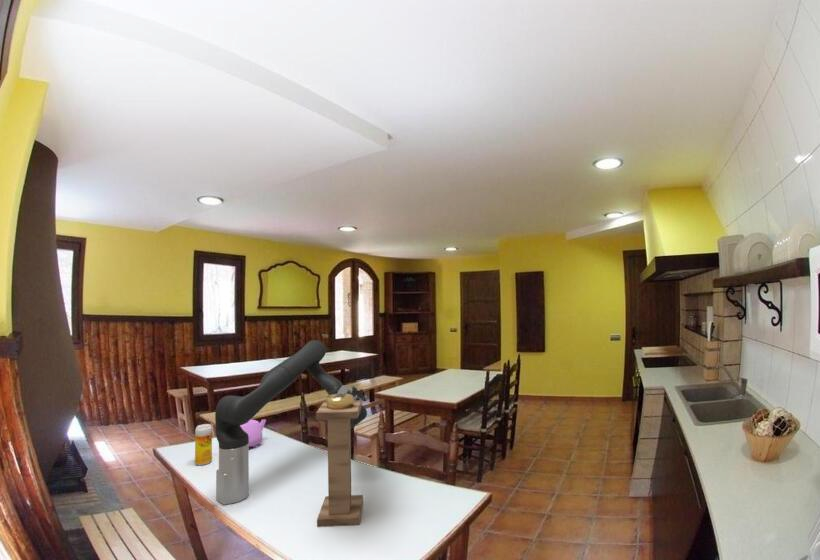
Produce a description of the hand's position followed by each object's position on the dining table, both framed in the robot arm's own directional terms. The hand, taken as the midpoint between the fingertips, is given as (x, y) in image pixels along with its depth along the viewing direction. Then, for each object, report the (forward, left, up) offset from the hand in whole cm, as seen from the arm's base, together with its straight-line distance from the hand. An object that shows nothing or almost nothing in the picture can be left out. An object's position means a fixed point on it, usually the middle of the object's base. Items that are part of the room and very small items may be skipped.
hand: (344, 389), depth 137 cm
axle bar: (-3, -3, -3) cm, 6 cm away
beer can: (-20, +68, -35) cm, 79 cm away
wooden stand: (-8, -8, -35) cm, 37 cm away
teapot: (0, +73, -35) cm, 81 cm away
